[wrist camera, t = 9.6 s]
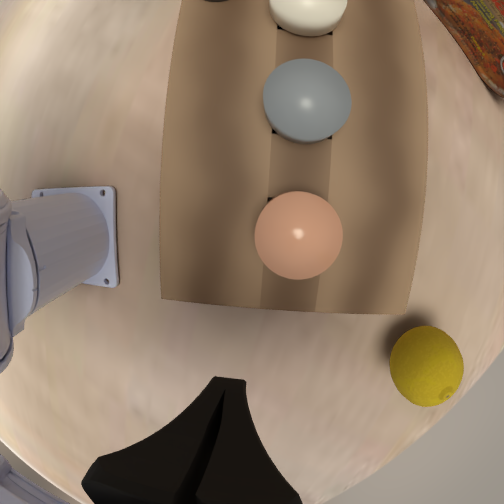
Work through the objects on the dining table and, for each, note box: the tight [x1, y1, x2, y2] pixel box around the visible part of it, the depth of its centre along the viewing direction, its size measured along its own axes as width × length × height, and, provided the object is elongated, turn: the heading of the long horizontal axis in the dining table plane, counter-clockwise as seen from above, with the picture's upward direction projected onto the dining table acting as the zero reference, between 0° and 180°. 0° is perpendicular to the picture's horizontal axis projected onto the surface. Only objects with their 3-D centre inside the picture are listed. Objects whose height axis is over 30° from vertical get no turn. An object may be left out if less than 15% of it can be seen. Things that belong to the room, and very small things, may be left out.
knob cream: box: [269, 0, 347, 36], centre depth 13 cm, size 4×4×5 cm
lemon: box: [390, 326, 464, 407], centre depth 18 cm, size 6×6×8 cm
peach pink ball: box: [254, 191, 343, 280], centre depth 17 cm, size 4×4×5 cm
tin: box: [424, 0, 504, 98], centre depth 11 cm, size 15×3×8 cm, turn 34°
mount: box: [160, 0, 428, 314], centre depth 16 cm, size 16×24×5 cm, turn 177°
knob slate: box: [263, 59, 352, 144], centre depth 15 cm, size 4×4×5 cm
